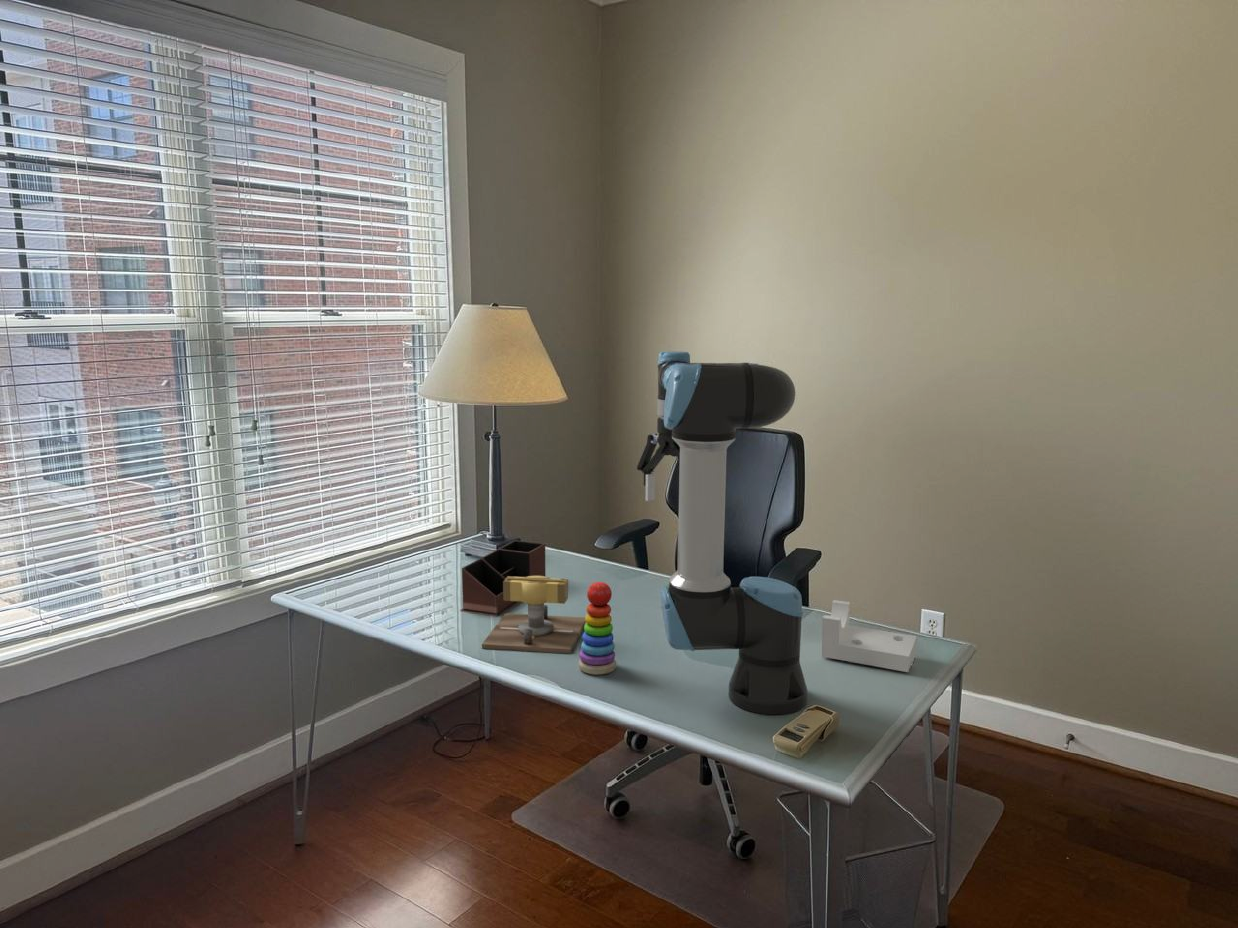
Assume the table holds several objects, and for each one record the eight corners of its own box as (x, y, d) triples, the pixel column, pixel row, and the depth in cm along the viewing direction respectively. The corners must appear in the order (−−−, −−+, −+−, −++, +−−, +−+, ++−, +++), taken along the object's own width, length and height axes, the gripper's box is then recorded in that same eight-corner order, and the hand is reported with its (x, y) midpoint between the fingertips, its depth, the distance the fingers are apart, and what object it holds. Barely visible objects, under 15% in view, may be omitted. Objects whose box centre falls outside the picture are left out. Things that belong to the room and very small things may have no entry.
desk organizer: (548, 582, 245) (547, 542, 243) (497, 617, 218) (496, 573, 216) (513, 578, 248) (513, 539, 246) (459, 612, 221) (458, 568, 219)
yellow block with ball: (569, 595, 207) (569, 575, 206) (563, 605, 200) (563, 585, 199) (509, 592, 209) (509, 573, 208) (501, 602, 202) (501, 582, 201)
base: (570, 653, 195) (570, 617, 193) (481, 648, 198) (481, 612, 196) (586, 621, 214) (586, 588, 213) (505, 617, 217) (504, 584, 216)
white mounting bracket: (821, 661, 193) (822, 617, 190) (832, 642, 201) (833, 599, 198) (907, 677, 185) (910, 631, 182) (915, 656, 193) (917, 612, 190)
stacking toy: (602, 679, 182) (603, 591, 178) (570, 670, 186) (570, 584, 183) (623, 666, 188) (624, 581, 185) (591, 658, 192) (591, 574, 189)
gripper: (725, 420, 206) (723, 509, 210) (643, 411, 223) (642, 494, 227) (706, 423, 201) (704, 515, 205) (623, 413, 217) (622, 498, 221)
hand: (671, 504), depth 216 cm, fingers open, 13 cm apart
